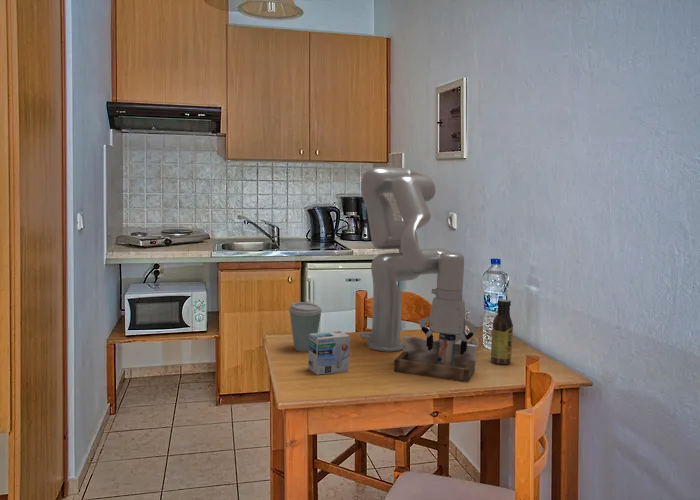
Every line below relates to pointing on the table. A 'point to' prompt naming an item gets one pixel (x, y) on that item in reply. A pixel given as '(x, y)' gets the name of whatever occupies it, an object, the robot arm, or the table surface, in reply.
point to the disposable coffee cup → (304, 323)
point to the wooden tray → (434, 360)
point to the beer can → (446, 349)
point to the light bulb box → (328, 352)
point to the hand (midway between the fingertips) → (446, 351)
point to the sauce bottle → (502, 334)
